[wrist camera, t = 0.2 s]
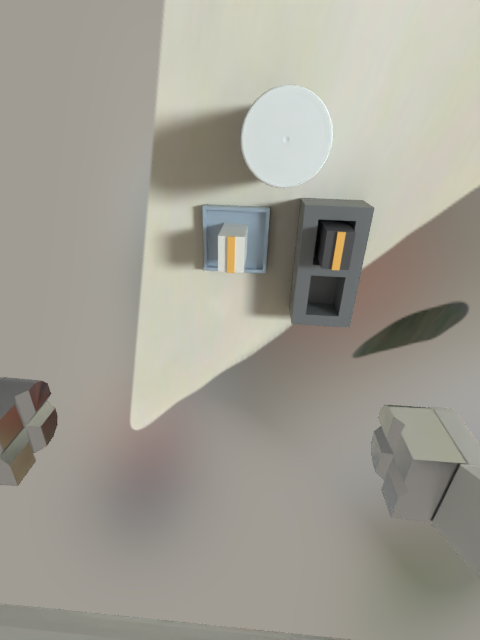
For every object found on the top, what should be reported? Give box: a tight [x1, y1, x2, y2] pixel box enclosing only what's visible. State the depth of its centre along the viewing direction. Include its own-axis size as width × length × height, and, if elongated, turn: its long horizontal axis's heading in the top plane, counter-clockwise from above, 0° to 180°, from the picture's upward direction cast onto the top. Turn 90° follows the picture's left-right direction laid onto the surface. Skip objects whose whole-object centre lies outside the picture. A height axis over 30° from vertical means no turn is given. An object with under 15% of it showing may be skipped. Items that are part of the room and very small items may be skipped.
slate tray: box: [202, 204, 270, 273], centre depth 53 cm, size 10×10×2 cm
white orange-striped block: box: [218, 223, 248, 273], centre depth 50 cm, size 5×4×8 cm
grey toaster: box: [289, 198, 374, 327], centre depth 50 cm, size 18×9×10 cm, turn 178°
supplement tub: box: [240, 85, 333, 188], centre depth 41 cm, size 10×10×15 cm
